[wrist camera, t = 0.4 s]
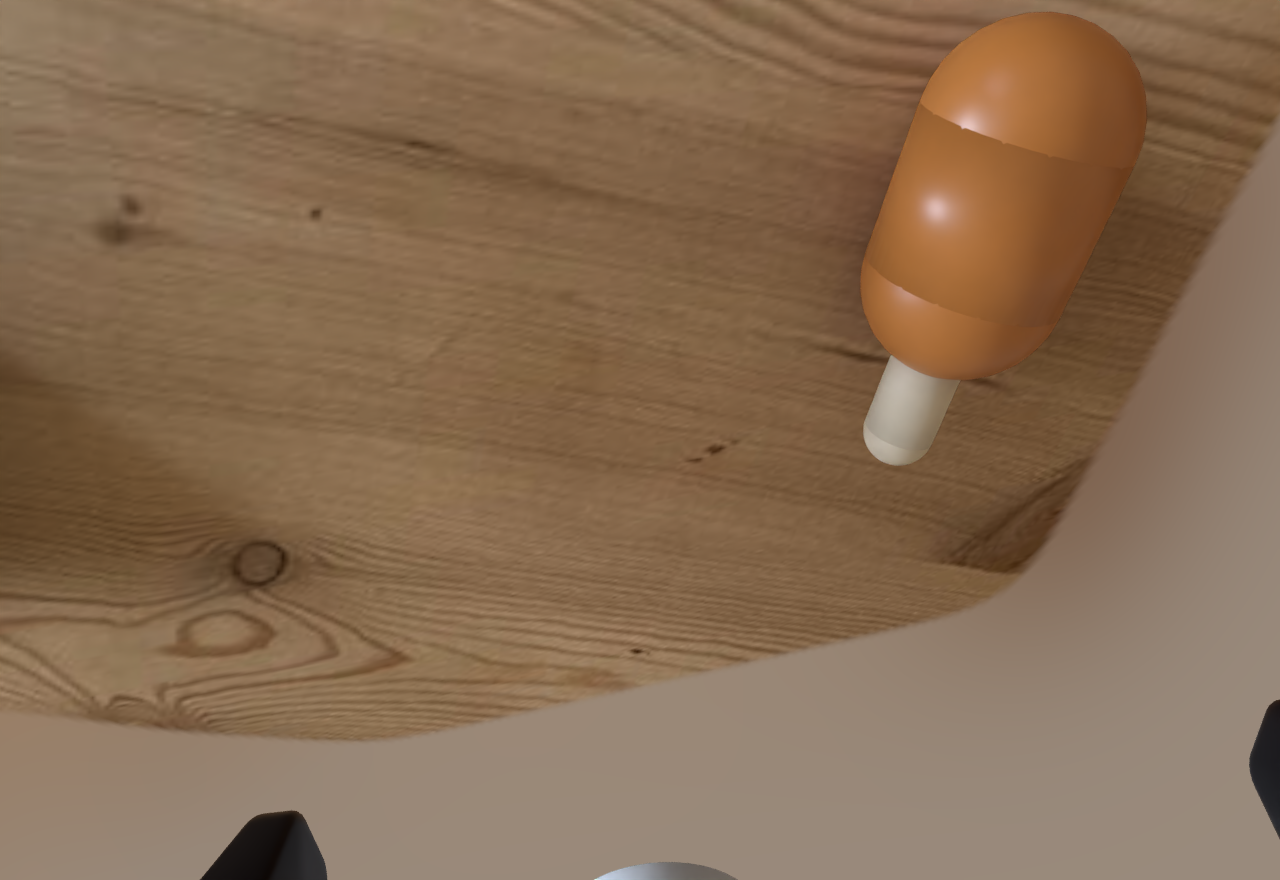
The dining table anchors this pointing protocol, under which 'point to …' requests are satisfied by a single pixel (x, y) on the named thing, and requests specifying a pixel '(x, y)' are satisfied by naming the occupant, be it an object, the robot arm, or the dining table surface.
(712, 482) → the dining table surface
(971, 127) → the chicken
